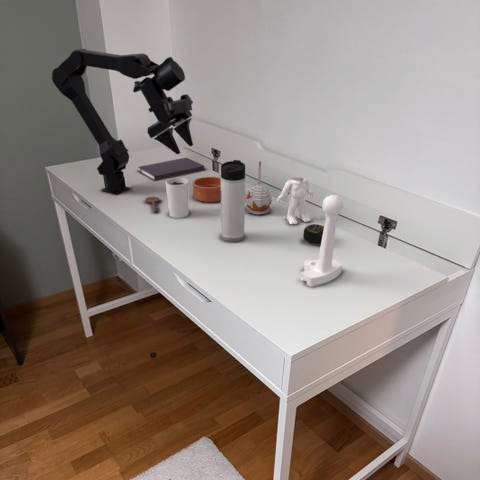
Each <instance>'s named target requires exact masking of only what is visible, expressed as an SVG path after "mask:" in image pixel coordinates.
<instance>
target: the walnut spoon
mask: <svg viewBox="0 0 480 480" xmlns="http://www.w3.org/2000/svg"><path fill="white" fill-rule="evenodd" d="M144 201H145V203H146V204H148V205H151V206H152V207H151V208H152V210H153V213H155V214H157V213H158V207H157V206H158V205H157V204H159V203H161V200H160V197H158V196H148V197H146V198H145V200H144Z"/></svg>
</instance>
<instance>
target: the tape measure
mask: <svg viewBox="0 0 480 480" xmlns="http://www.w3.org/2000/svg"><path fill="white" fill-rule="evenodd" d="M323 231H324V225H322V224H316V223H311V224H307V225H306V226H305V227H304V228H303V233H302V236H303V240H304V241H305V242H307V243H309V244H312V245H313V244H314V245H320V246H321V242H322V236H323Z"/></svg>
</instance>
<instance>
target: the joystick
mask: <svg viewBox="0 0 480 480" xmlns="http://www.w3.org/2000/svg"><path fill="white" fill-rule="evenodd" d="M343 208H344V201H343V199H342V198H341V197H340V196H339V195H336V194H330V195H328V196H326V197H325V198H324V199H323V201H322V204H321V209H322V211H323V213H324V214H325V220H324V225H323V226H324V231H323V236H322V242H321V245H320V247H319V254H318V259H307V260H306V261H304V270H303V271H301V272H300V281H303V282H304V281H305V282H306V286H308V287H310V288H311V287H316V286H321V285H323V284H326V283H329V282H330V281H331V282H332V281H333V280H335V279H336V278H337V277H338V276H339V275H341V273H342V269H343V263H342V262H341V261H338V260H336V259H333V256H334V255H333V254H334V247H335V246H334V244H335V235H336V234H335V233H336V225H337V217H338V215H340V214H341V213H342V211H343V210H344V209H343Z"/></svg>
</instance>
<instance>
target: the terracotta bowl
mask: <svg viewBox="0 0 480 480" xmlns="http://www.w3.org/2000/svg"><path fill="white" fill-rule="evenodd" d="M192 196H193V198H194V199H195V200H197V201H199V202H203V203H217V202H221V177H217V176H202V177H198V178H195V179H193V180H192Z"/></svg>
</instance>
